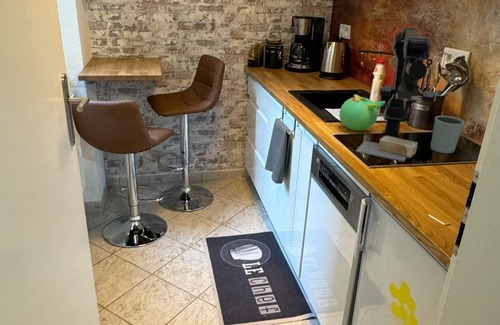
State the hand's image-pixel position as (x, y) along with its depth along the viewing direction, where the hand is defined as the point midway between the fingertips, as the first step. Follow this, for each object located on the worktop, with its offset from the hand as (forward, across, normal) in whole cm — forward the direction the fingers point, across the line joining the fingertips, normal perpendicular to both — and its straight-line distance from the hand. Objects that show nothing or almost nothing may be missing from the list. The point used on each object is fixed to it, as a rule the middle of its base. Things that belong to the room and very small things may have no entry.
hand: (403, 116), depth 150 cm
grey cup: (+13, +15, +10) cm, 22 cm away
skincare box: (+10, +7, -5) cm, 13 cm away
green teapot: (+13, -20, +16) cm, 29 cm away
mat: (+13, -4, -5) cm, 15 cm away
